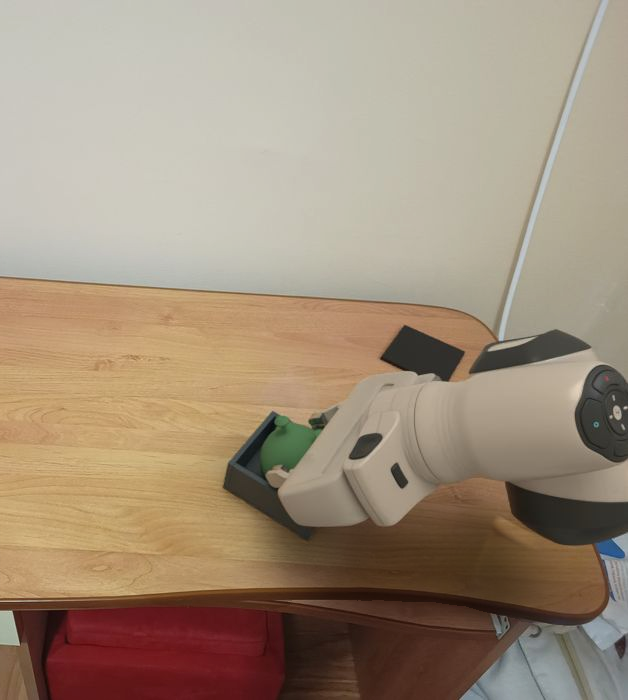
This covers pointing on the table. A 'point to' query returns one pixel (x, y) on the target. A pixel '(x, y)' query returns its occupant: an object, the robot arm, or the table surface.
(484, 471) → the robot arm
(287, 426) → the alien toy
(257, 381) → the table surface
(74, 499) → the table surface
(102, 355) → the table surface
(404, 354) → the mat
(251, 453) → the crate
